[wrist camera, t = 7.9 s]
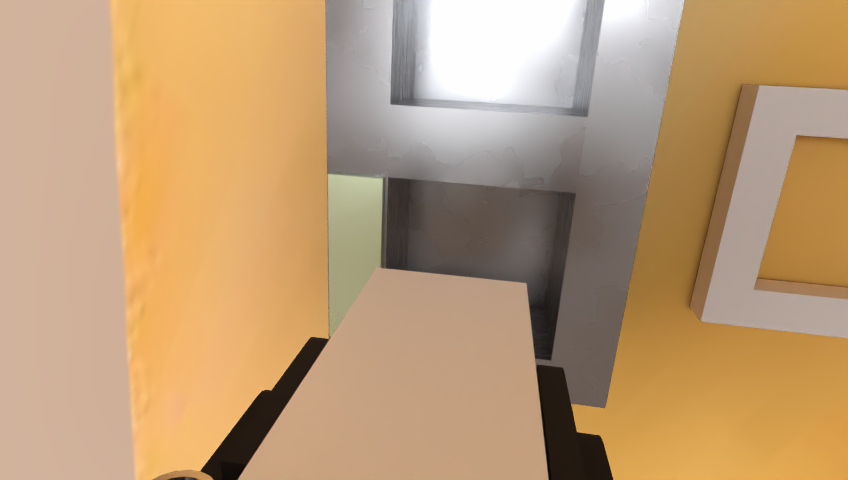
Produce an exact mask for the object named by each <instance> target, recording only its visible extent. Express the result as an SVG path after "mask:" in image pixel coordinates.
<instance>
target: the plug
mask: <svg viewBox="0 0 848 480" xmlns="http://www.w3.org/2000/svg"><path fill="white" fill-rule="evenodd" d="M238 480H549V479H548V470H547V462H546V453H545V444H544V435H543V426H542V417H541V408H540V399H539V390H538V381H537V373H536V364H535V355H534V346H533V337H532V328H531V319H530V310H529V301H528V293H527V284H526V283H521V282H512V281H502V280H492V279H483V278H473V277H463V276H454V275H444V274H434V273H424V272H415V271H405V270H395V269H386V268H376V270H375V271H374V273H373V274H372V276H371V277H370V279H369V280H368V282H367V283H366V285H365V286H364V288H363V289H362V291H361V292H360V294H359V295H358V297H357V298H356V300H355V302H354V303H353V305H352V306H351V308H350V309H349V311H348V312H347V314H346V315H345V317H344V318H343V320H342V321H341V323H340V324H339V326H338V327H337V329H336V331H335V332H334V334H333V335H332V337H331V338H330V340H329V341H328V343H327V344H326V346H325V347H324V349H323V350H322V352H321V353H320V355H319V356H318V358H317V359H316V361H315V363H314V364H313V366H312V367H311V369H310V370H309V372H308V373H307V375H306V376H305V378H304V379H303V381H302V382H301V384H300V385H299V387H298V388H297V390H296V391H295V393H294V395H293V396H292V398H291V399H290V401H289V402H288V404H287V405H286V407H285V408H284V410H283V411H282V413H281V414H280V416H279V417H278V419H277V420H276V422H275V423H274V425H273V427H272V428H271V430H270V431H269V433H268V434H267V436H266V437H265V439H264V440H263V442H262V443H261V445H260V446H259V448H258V449H257V451H256V452H255V454H254V455H253V457H252V459H251V460H250V462H249V463H248V465H247V466H246V468H245V469H244V471H243V472H242V474H241V475H240V477H239V478H238Z"/></svg>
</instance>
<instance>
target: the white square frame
mask: <svg viewBox="0 0 848 480" xmlns="http://www.w3.org/2000/svg"><path fill="white" fill-rule="evenodd" d="M797 135H801V136H817V137H832V138H847V139H848V90H842V89H823V88H805V87H786V86H767V85H748V84H743V86H742V90H741V94H740V98H739V102H738V106H737V111H736V115H735V119H734V123H733V127H732V132H731V136H730V140H729V144H728V148H727V152H726V157H725V161H724V165H723V169H722V173H721V178H720V182H719V186H718V190H717V194H716V199H715V203H714V207H713V211H712V215H711V219H710V224H709V228H708V232H707V236H706V240H705V245H704V249H703V253H702V257H701V261H700V265H699V270H698V274H697V278H696V282H695V286H694V291H693V295H692V299H691V303H690V308H691V310H692V311H693V312H694V314H695V315H696V316H697V317H698V319H699V320H700V321H701V322H708V323H717V324H726V325H735V326H743V327H752V328H761V329H770V330H779V331H788V332H796V333H805V334H814V335H823V336H832V337H841V338H848V287H838V286H828V285H818V284H808V283H798V282H788V281H778V280H768V279H758V278H757V275H758V272H759V268H760V264H761V261H762V257H763V254H764V250H765V247H766V243H767V239H768V236H769V232H770V229H771V225H772V222H773V218H774V214H775V211H776V207H777V204H778V200H779V197H780V193H781V189H782V186H783V182H784V179H785V175H786V172H787V168H788V164H789V161H790V157H791V154H792V150H793V146H794V143H795V139H796V136H797Z"/></svg>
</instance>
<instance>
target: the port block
mask: <svg viewBox="0 0 848 480" xmlns="http://www.w3.org/2000/svg"><path fill="white" fill-rule="evenodd" d="M325 3H326V99H327V196H328V292H329V339H330V338H331V337H332V335H333V334H334V332H335V331H336V329H337V327H338V326H339V324H340V323H341V321H342V320H343V318H344V317H345V315H346V314H347V312H348V311H349V309H350V308H351V306H352V305H353V303H354V302H355V300H356V298H357V297H358V295H359V294H360V292H361V291H362V289H363V288H364V286H365V285H366V283H367V282H368V280H369V279H370V277H371V276H372V274H373V273H374V271H375V270H376V268H386V269H395V270H405V271H415V272H424V273H434V274H444V275H454V276H463V277H473V278H483V279H492V280H502V281H512V282H521V283H526V284H527V293H528V301H529V310H530V319H531V328H532V337H533V346H534V355H535V364H536V366H537V364H538V365H546V366H555V367H562V368H564V372H565V377H566V382H567V387H568V392H569V397H570V402H571V404H579V405H586V406H593V407H600V408H605V407H606V402H607V397H608V392H609V386H610V381H611V376H612V371H613V366H614V361H615V355H616V350H617V345H618V340H619V335H620V330H621V325H622V319H623V314H624V309H625V304H626V299H627V294H628V289H629V283H630V278H631V273H632V268H633V263H634V258H635V253H636V247H637V242H638V237H639V232H640V227H641V222H642V217H643V211H644V206H645V201H646V196H647V191H648V186H649V181H650V175H651V170H652V165H653V160H654V155H655V150H656V144H657V139H658V134H659V129H660V124H661V119H662V114H663V108H664V103H665V98H666V93H667V88H668V83H669V78H670V72H671V67H672V62H673V57H674V52H675V47H676V42H677V36H678V31H679V26H680V21H681V16H682V11H683V6H684V0H325Z"/></svg>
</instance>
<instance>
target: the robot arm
mask: <svg viewBox="0 0 848 480" xmlns="http://www.w3.org/2000/svg"><path fill="white" fill-rule="evenodd" d="M329 340H330V339H324V338H316V337H311V338H310V339H309V340H308V341H307V343H306V344H305V345H304V347H303V348H302V350H301V351H300V352H299V354H298V355H297V356H296V358H295V359H294V361H293V362H292V363H291V365H290V366H289V367H288V369H287V370H286V371H285V373H284V374H283V376H282V377H281V378H280V380H279V381H278V382H277V384H276V385H275V387H274V388H273V389H272V391H270V390H264V391H262V392H261V393H260V394H259V395H258V396H257V397H256V399H255V400H254V401H253V403H252V404H251V405H250V407H249V408H248V409H247V411H246V412H245V413H244V414H243V416H242V417H241V418H240V420H239V421H238V422H237V424H236V425H235V426H234V428H233V429H232V430H231V432H230V433H229V434H228V435H227V437H226V438H225V439H224V441H223V442H222V443H221V445H220V446H219V447H218V449H217V450H216V451H215V453H214V454H213V455H212V456H211V458H210V459H209V460H208V462H207V463H206V464H205V466H204V467H203V468H202V470H201V471H193V470H182V471H174V472H171V473H167V474H164V475H161V476H158V477H157V478H155V479H153V480H238V478H239V477H240V475H241V474H242V472H243V471H244V469H245V468H246V466H247V465H248V463H249V462H250V460H251V459H252V457H253V455H254V454H255V452H256V451H257V449H258V448H259V446H260V445H261V443H262V442H263V440H264V439H265V437H266V436H267V434H268V433H269V431H270V430H271V428H272V427H273V425H274V423H275V422H276V420H277V419H278V417H279V416H280V414H281V413H282V411H283V410H284V408H285V407H286V405H287V404H288V402H289V401H290V399H291V398H292V396H293V395H294V393H295V391H296V390H297V388H298V387H299V385H300V384H301V382H302V381H303V379H304V378H305V376H306V375H307V373H308V372H309V370H310V369H311V367H312V366H313V364H314V363H315V361H316V359H317V358H318V356H319V355H320V353H321V352H322V350H323V349H324V347H325V346H326V344H327V343H328V341H329ZM536 373H537V381H538V390H539V399H540V408H541V417H542V426H543V435H544V444H545V453H546V462H547V470H548V479H549V480H613V477H612V473H611V470H610V466H609V462H608V459H607V455H606V451H605V447H604V444H603V441H602V438H601V437H600V436H599V435H593V434H585V433H578V432H577V431H576V426H575V421H574V416H573V411H572V407H571V402H570V397H569V392H568V387H567V382H566V377H565V372H564V368H562V367H555V366H546V365H538V364H537V366H536Z"/></svg>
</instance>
